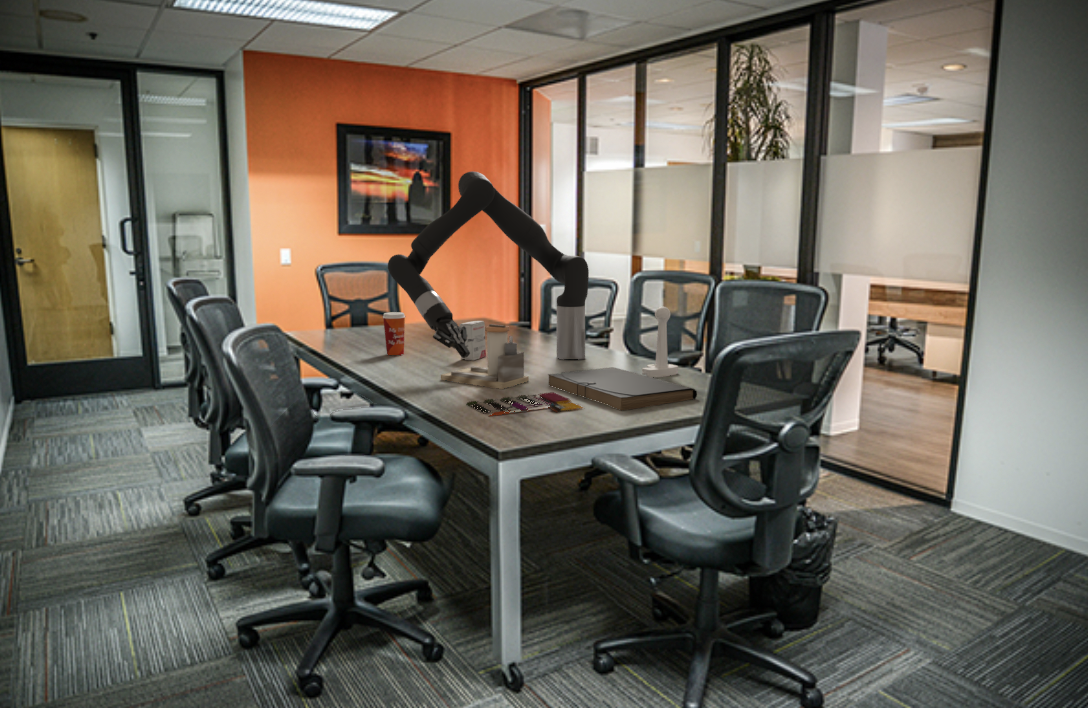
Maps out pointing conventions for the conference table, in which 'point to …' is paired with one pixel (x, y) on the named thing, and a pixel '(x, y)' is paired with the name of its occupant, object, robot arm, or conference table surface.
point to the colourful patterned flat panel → (551, 397)
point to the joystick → (661, 348)
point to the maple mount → (507, 376)
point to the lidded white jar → (495, 346)
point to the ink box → (475, 339)
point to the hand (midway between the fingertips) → (466, 355)
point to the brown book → (621, 388)
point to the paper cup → (394, 332)
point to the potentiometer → (510, 347)
